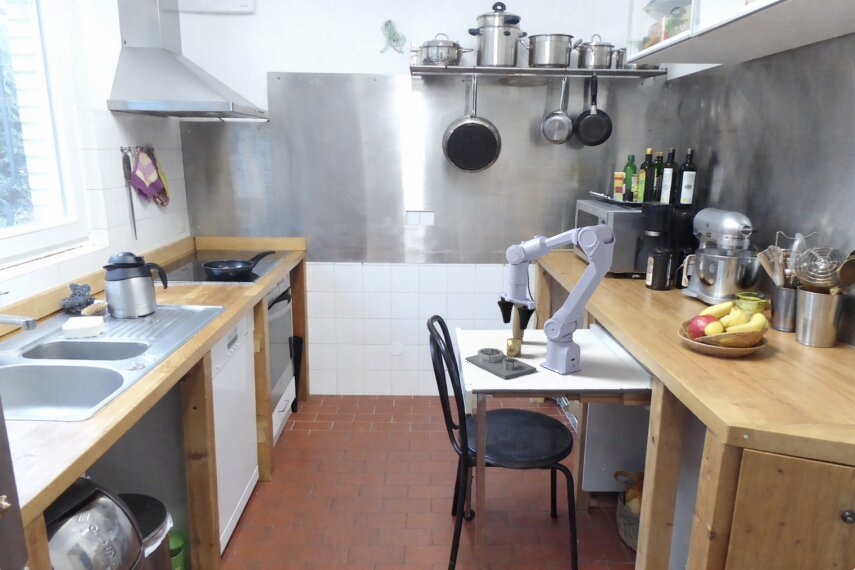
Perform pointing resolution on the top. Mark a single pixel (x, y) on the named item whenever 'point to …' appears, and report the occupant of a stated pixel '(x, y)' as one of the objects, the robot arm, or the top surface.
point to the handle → (517, 324)
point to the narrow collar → (510, 363)
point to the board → (497, 367)
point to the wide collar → (490, 355)
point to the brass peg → (514, 347)
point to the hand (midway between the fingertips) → (514, 326)
